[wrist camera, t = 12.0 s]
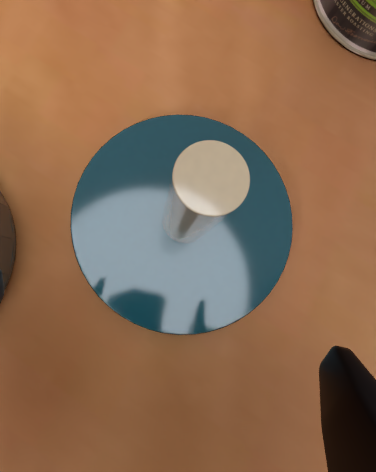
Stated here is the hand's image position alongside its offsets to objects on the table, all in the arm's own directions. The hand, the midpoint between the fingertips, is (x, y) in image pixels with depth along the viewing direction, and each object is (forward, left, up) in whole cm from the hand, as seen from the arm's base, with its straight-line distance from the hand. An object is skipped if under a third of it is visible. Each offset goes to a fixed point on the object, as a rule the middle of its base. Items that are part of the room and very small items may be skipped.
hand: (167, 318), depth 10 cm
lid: (+5, -1, -12) cm, 13 cm away
